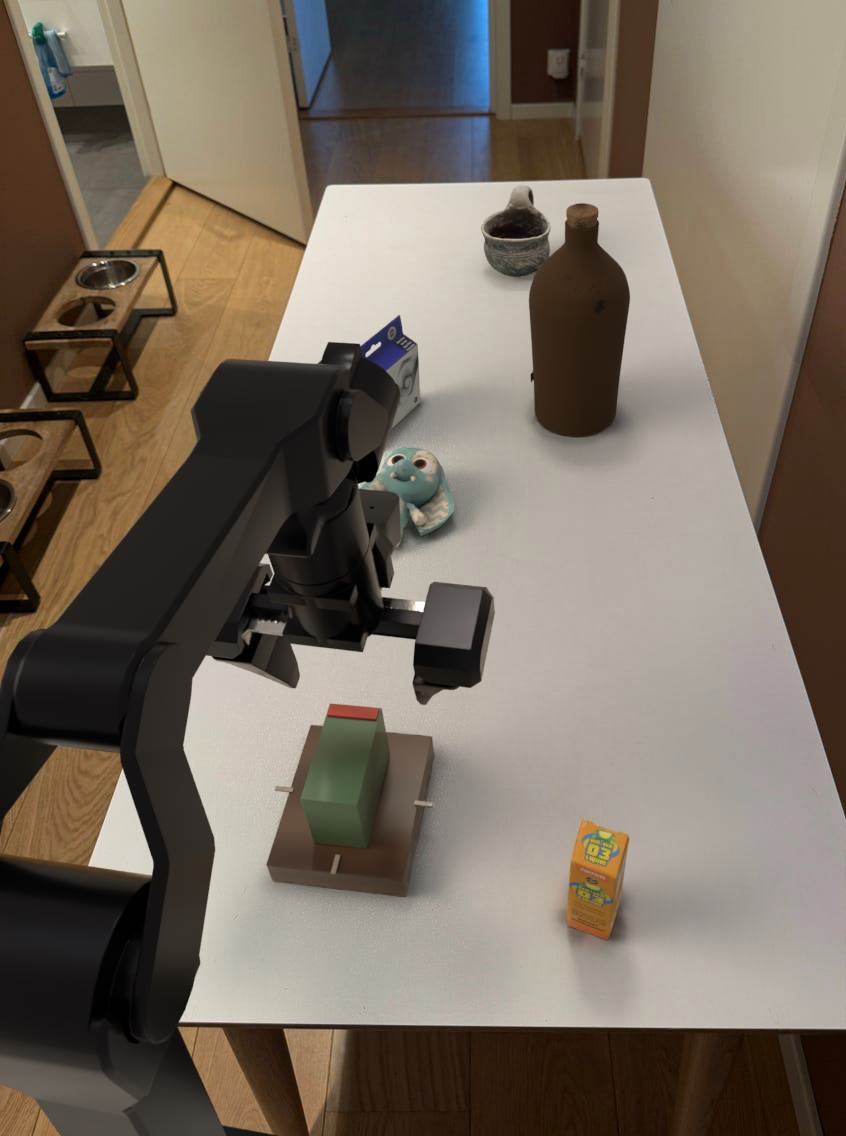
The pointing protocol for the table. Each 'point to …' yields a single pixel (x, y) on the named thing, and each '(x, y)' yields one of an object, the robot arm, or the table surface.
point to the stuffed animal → (416, 488)
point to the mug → (517, 236)
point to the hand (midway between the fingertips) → (359, 690)
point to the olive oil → (578, 330)
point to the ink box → (397, 363)
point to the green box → (346, 776)
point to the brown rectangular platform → (390, 835)
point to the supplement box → (596, 878)
